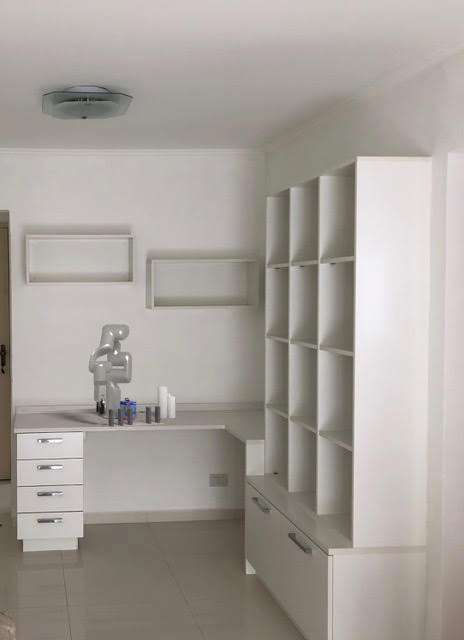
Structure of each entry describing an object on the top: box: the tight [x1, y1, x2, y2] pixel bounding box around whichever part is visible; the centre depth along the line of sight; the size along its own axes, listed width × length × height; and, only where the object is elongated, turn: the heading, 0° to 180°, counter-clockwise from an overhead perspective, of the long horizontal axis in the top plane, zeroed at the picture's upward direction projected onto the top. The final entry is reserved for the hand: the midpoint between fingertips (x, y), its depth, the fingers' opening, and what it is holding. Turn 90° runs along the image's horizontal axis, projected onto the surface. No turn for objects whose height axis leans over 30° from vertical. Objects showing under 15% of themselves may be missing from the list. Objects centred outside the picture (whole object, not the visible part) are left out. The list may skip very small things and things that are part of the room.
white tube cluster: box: [157, 385, 176, 419], centre depth 608 cm, size 11×7×20 cm, turn 96°
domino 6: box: [154, 405, 161, 423], centre depth 584 cm, size 2×5×10 cm, turn 26°
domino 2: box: [108, 409, 115, 428], centre depth 571 cm, size 2×5×10 cm, turn 26°
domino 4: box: [126, 408, 134, 425], centre depth 577 cm, size 2×5×10 cm, turn 26°
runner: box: [104, 420, 165, 428], centre depth 578 cm, size 12×35×1 cm, turn 116°
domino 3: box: [117, 408, 124, 426], centre depth 574 cm, size 2×5×10 cm, turn 26°
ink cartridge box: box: [120, 397, 138, 422], centre depth 597 cm, size 10×6×14 cm, turn 51°
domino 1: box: [97, 401, 104, 417], centre depth 575 cm, size 2×5×10 cm, turn 26°
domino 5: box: [145, 406, 152, 424], centre depth 582 cm, size 2×5×10 cm, turn 26°
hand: (100, 412), depth 576 cm, fingers closed on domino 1, 4 cm apart
